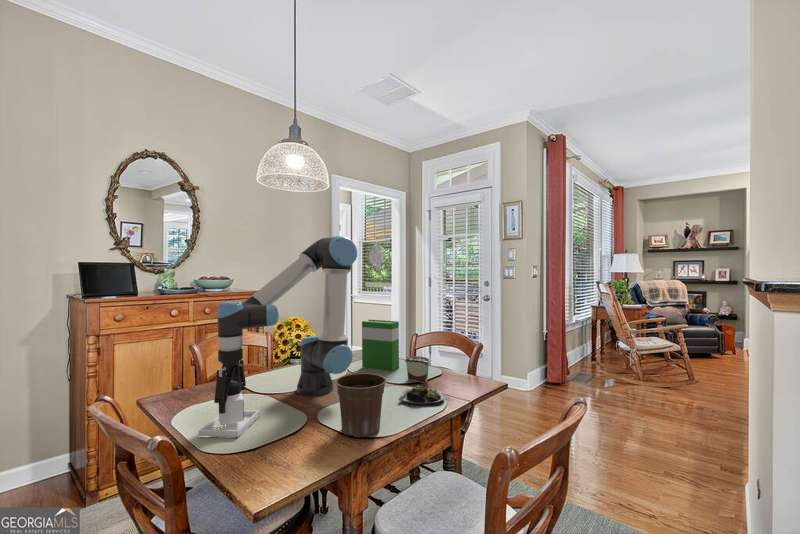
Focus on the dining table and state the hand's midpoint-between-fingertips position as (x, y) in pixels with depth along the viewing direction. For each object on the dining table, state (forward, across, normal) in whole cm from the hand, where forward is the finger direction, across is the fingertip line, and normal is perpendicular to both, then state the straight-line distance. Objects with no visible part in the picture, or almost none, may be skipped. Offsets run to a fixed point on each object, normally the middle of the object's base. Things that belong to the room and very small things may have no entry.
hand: (231, 415), depth 125 cm
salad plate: (+4, -26, +63) cm, 69 cm away
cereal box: (+4, -71, +43) cm, 84 cm away
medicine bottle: (+1, 0, 0) cm, 1 cm away
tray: (+3, 0, 0) cm, 3 cm away
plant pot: (+4, +2, +43) cm, 44 cm away
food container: (+4, -51, +63) cm, 82 cm away
